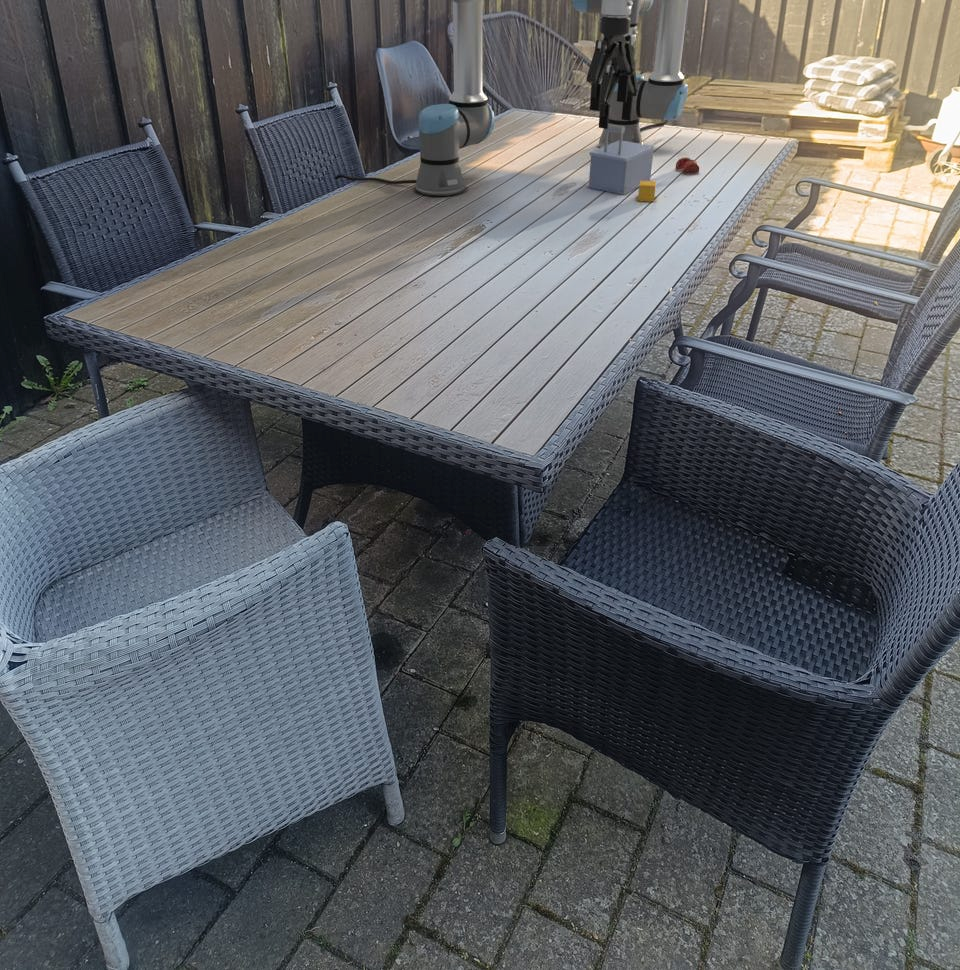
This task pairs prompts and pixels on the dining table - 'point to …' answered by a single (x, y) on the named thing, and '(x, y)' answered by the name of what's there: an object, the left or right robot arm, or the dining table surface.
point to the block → (647, 191)
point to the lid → (620, 146)
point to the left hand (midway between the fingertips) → (608, 106)
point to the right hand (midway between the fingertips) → (614, 124)
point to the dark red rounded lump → (687, 165)
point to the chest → (620, 173)
